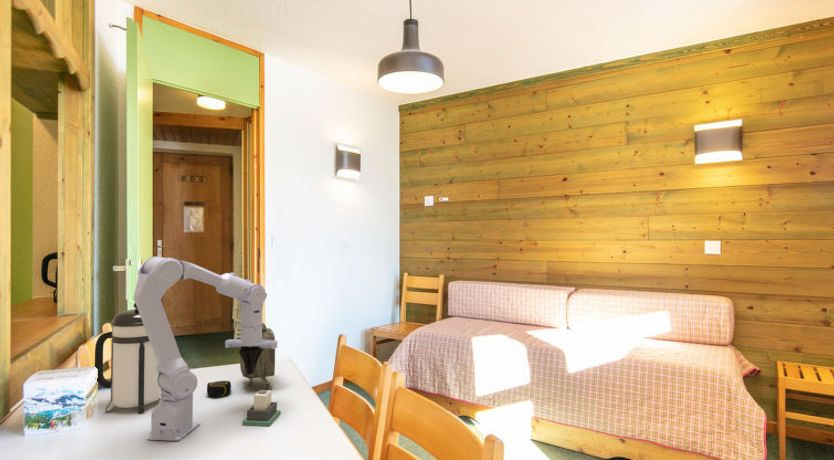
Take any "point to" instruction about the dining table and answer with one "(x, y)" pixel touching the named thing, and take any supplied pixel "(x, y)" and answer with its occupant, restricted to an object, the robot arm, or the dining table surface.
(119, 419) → the dining table surface
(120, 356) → the coffee press
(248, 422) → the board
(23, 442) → the dining table surface
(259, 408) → the plug
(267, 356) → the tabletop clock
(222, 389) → the tape measure
